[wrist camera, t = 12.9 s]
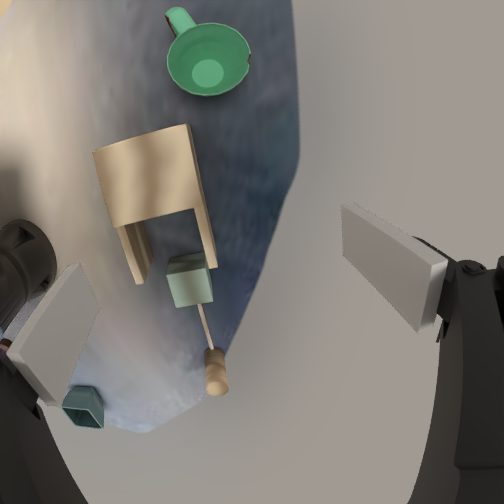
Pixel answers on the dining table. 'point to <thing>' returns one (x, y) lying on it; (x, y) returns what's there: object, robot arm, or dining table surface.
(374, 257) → the robot arm
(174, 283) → the tethered block
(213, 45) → the mug
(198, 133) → the dining table surface
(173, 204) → the tan wooden arch
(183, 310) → the dining table surface
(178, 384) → the dining table surface
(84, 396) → the flower pot
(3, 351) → the mug
